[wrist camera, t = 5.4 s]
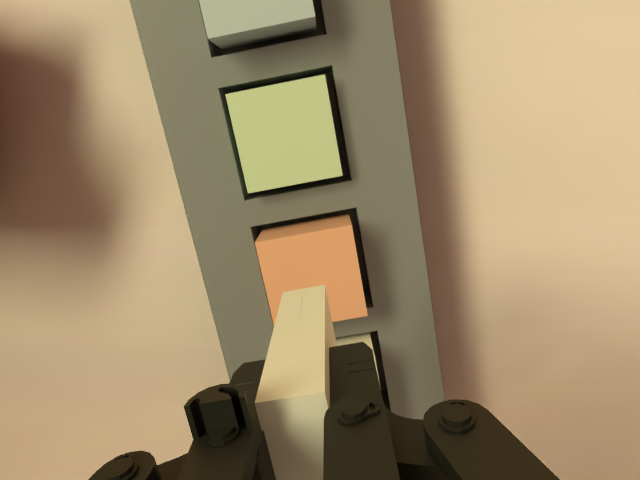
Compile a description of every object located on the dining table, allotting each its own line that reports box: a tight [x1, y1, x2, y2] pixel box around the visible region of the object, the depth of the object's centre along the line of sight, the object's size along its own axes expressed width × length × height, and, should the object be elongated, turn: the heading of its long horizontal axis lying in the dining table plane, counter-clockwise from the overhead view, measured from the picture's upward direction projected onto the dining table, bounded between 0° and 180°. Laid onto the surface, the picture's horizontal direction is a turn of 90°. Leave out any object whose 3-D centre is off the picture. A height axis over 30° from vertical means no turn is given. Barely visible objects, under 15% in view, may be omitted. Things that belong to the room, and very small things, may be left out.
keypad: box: [130, 0, 445, 420], centre depth 23 cm, size 11×29×3 cm, turn 11°
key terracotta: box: [255, 214, 368, 325], centre depth 22 cm, size 4×4×3 cm
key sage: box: [225, 74, 343, 193], centre depth 21 cm, size 4×4×3 cm
